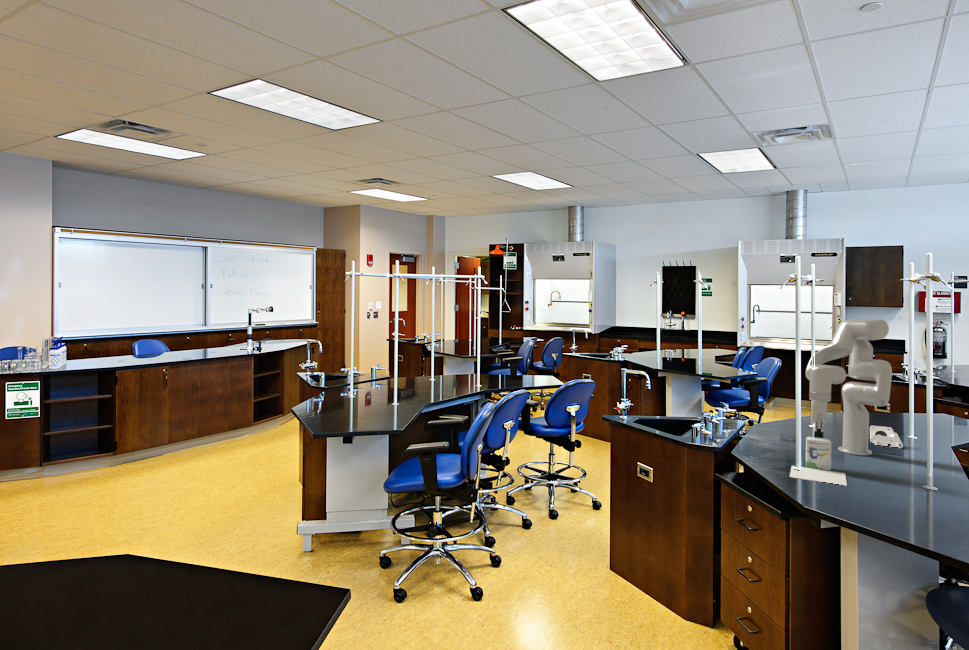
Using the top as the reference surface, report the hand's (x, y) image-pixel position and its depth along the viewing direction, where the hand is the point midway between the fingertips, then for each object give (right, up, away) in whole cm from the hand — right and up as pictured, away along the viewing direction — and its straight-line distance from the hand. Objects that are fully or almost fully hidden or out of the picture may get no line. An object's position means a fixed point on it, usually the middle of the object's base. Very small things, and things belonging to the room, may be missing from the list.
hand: (818, 441), depth 220 cm
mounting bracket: (+55, -10, +36) cm, 66 cm away
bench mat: (-10, -10, -15) cm, 21 cm away
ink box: (-3, -10, -5) cm, 11 cm away
